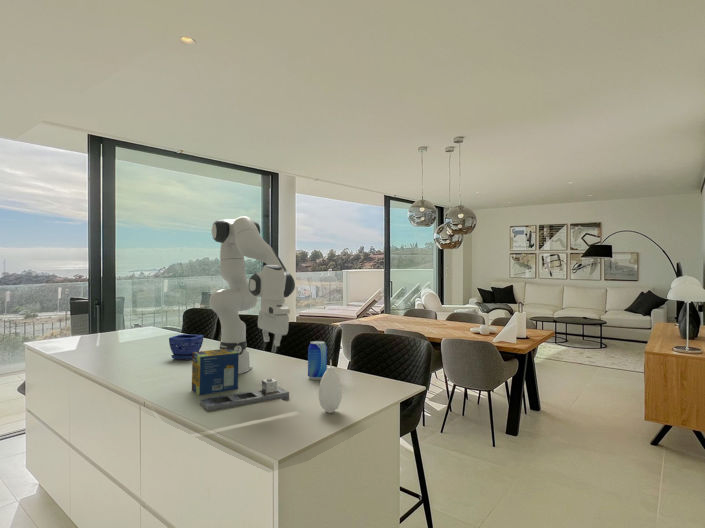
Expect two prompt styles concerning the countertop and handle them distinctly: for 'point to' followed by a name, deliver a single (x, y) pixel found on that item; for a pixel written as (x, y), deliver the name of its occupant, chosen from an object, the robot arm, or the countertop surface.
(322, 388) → the white teardrop vase
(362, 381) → the countertop surface
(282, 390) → the grey compartment tray
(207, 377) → the protein box
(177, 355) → the flower pot
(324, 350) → the beer can
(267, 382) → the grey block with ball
